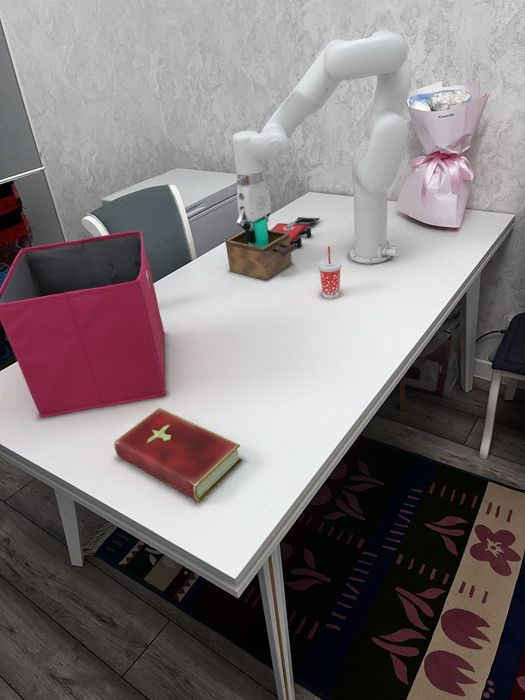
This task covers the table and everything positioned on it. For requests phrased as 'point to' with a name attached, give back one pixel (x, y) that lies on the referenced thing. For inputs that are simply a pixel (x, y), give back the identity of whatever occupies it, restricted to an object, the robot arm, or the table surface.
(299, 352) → the table surface
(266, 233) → the candle
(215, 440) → the hardcover book
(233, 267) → the wooden drawer
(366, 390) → the table surface
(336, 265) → the beverage cup
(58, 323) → the storage bin
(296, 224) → the red board with handle
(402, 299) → the table surface
